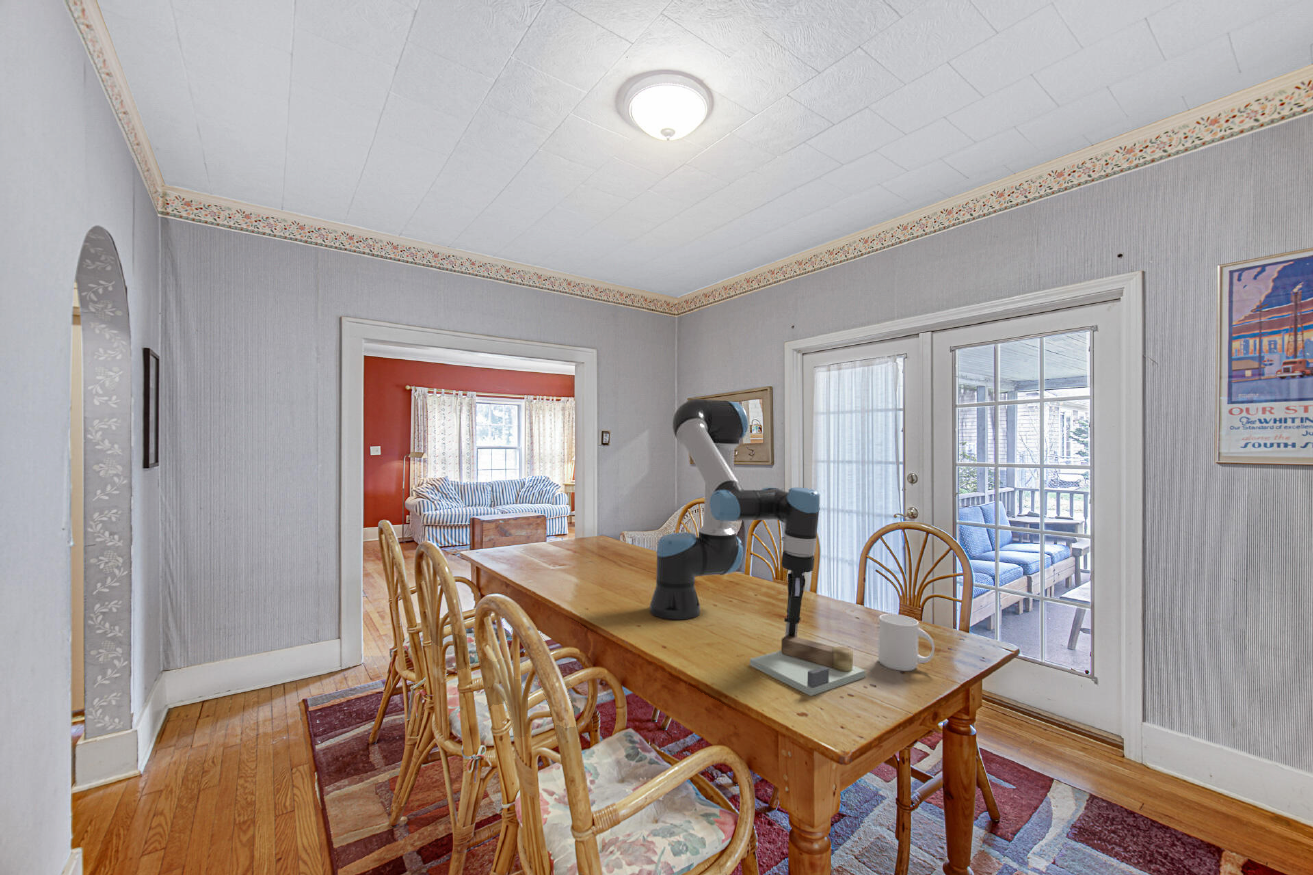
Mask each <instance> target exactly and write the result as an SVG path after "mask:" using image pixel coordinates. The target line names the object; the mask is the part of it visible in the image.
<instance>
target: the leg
mask: <svg viewBox="0 0 1313 875" xmlns="http://www.w3.org/2000/svg"><path fill="white" fill-rule="evenodd" d="M780 651H781V653H782V654H785V655H789V656H792V657H796V658H800V659H803V660H807V661H810V662H814V663H817V664H821V665H825V666H828V667H832V668H834V669H836V670H839V671H851V670H852V668H853V666H854V665H853V663H854V662H853V659H854V658H853V656H854V652H853V650H852V649H851V648H848V647H845V646H832V645H829V644H825V643H821V642H818V641H814V640H809V639H806V638H803V637H798V636H797V637H794V636H789V635H787V636H784V637H782V638H781V648H780Z"/></svg>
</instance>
